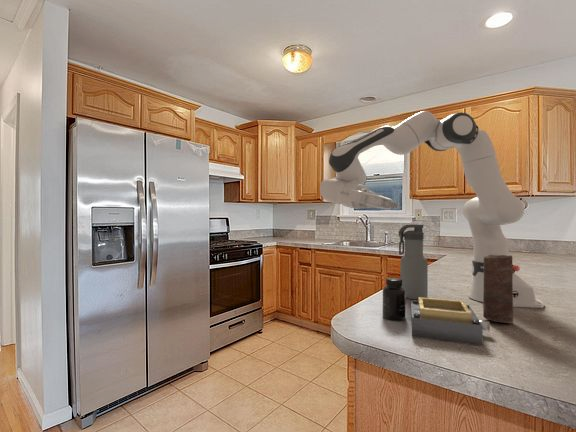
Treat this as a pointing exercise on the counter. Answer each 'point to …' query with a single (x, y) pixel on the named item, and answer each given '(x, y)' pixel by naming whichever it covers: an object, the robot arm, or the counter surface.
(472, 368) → the counter surface
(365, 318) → the counter surface
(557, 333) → the counter surface
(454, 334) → the grey and tan box
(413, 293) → the water bottle
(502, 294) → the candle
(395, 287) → the supplement bottle
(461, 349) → the counter surface
